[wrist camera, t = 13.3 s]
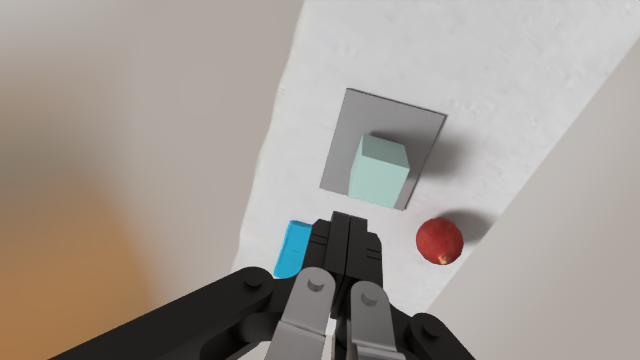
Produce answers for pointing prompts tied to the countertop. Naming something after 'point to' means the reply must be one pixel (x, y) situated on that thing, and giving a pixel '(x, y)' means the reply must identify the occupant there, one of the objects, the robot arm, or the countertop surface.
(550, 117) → the countertop surface
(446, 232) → the onion
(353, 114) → the mat
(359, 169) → the mint green square prism
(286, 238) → the sponge
